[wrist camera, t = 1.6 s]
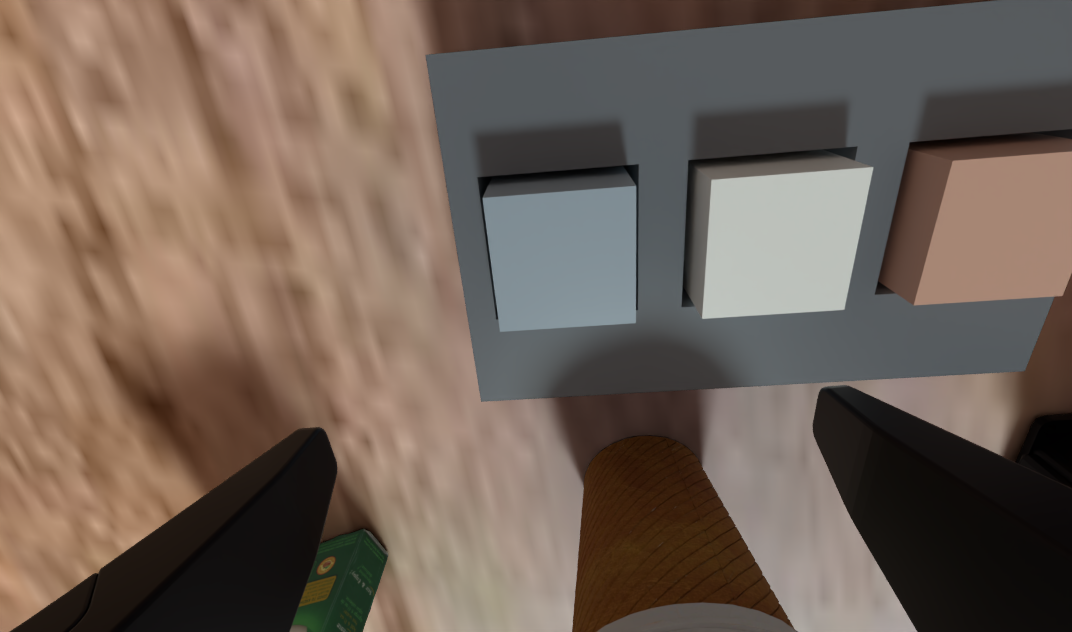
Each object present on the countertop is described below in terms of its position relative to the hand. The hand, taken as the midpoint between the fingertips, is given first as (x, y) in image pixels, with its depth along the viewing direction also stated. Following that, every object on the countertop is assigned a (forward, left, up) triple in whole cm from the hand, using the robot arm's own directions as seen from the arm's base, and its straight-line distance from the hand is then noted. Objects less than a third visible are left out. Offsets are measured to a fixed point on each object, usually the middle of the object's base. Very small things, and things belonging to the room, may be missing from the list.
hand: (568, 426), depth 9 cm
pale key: (-7, 0, -12) cm, 13 cm away
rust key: (-13, 0, -12) cm, 17 cm away
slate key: (0, 0, -11) cm, 11 cm away
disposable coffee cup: (-4, +15, -14) cm, 20 cm away
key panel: (-7, 0, -14) cm, 15 cm away
